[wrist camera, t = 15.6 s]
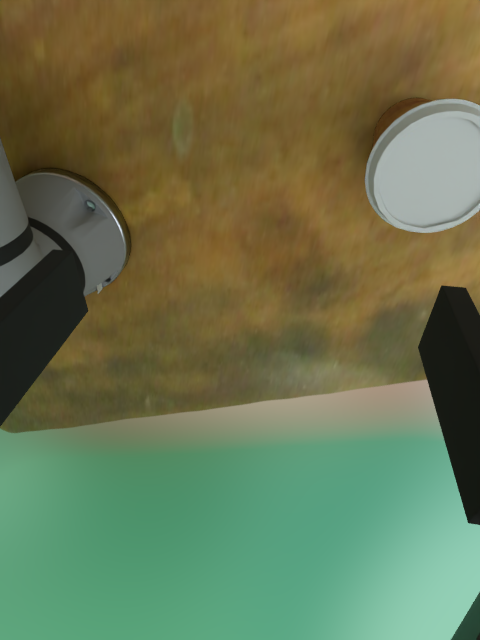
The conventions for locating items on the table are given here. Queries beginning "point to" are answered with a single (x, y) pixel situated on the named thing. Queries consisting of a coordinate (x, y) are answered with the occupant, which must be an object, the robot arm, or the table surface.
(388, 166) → the disposable coffee cup
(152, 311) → the table surface
